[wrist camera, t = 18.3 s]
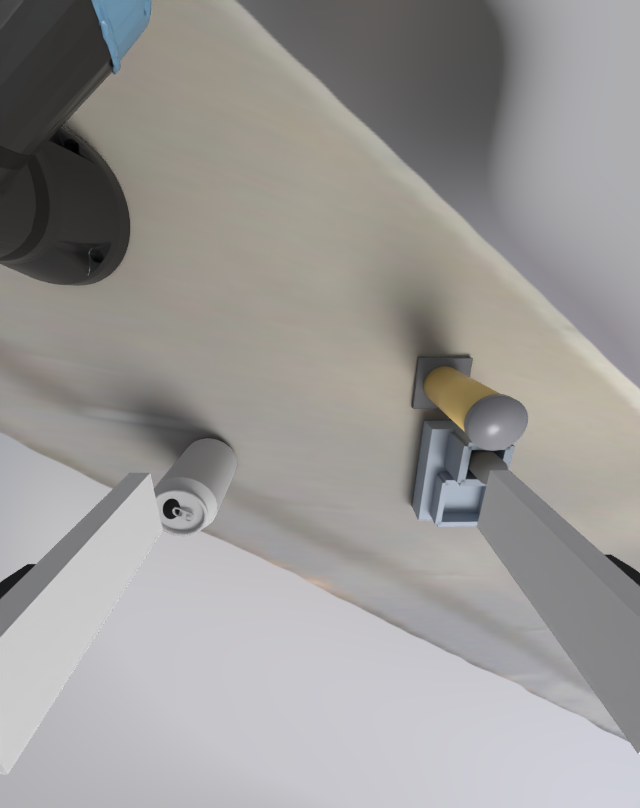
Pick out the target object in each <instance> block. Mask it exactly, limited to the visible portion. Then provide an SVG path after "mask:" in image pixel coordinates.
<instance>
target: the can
mask: <svg viewBox="0 0 640 808" xmlns="http://www.w3.org/2000/svg"><path fill="white" fill-rule="evenodd" d="M236 467H237V460H236V456H235V454H234V452H233V451H232V449H231V448H230V447H229V446H227V445H226V444H225V443H223V442H221V441H219V440H216V439H210V438H206V439H199V440H197V441H195V442H193V443H192V444H191V445H190V446H189V447H188V448H187V449H186V450H185V451H184V453H183V454H182V455H181V456H180V458H179V459H178V460H177V461H176V462H175V464H174V465H173V466H172V467H171V468H170V470H169V471H168V472H167V473H166V475H165V476H164V477H163V478H162V479H161V481H160V482H159V483H158V484H157V486H156V487H155V488H154V493H155V497H156V502H157V506H158V511H159V515H160V520H161V524H162V529H163V531H165V532H167V533H169V534H172V535H177V536H188V535H193V534H195V533H198V532H199V531H200V530H202V529H203V528H204V527H206V526H208V525H209V524H210V523H211V522H212V521H213V520H214V518H215V516H216V514H217V512H218V510H219V507H220V505H221V503H222V501H223V498H224V496H225V494H226V491H227V489H228V487H229V485H230V482H231V480H232V478H233V475H234V473H235V471H236Z"/></svg>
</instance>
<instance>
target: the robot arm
mask: <svg viewBox="0 0 640 808" xmlns="http://www.w3.org/2000/svg"><path fill="white" fill-rule="evenodd" d="M150 15H151V0H0V264H2V265H4V266H7V267H9V268H11V269H14V270H16V271H18V272H20V273H23V274H25V275H27V276H30V277H32V278H34V279H37V280H40V281H44V282H48V283H52V284H59V285H88V284H92V283H95V282H98V281H100V280H102V279H104V278H106V277H107V276H109V275H110V274H111V273H112V272H113V271H114V270H115V269H116V268H117V267H118V266H119V264H120V263H121V261H122V260H123V258H124V255H125V253H126V250H127V247H128V243H129V237H130V219H129V212H128V207H127V203H126V200H125V197H124V194H123V191H122V189H121V187H120V185H119V183H118V181H117V179H116V177H115V175H114V174H113V172H112V170H111V169H110V168H109V166H108V165H107V163H106V162H105V161H104V160H103V159H102V157H101V156H100V155H99V154H98V153H97V152H96V151H95V150H94V149H93V148H92V147H91V146H89V145H88V144H87V143H86V142H84V141H83V140H82V139H80V138H79V137H77V136H76V135H74V134H73V133H71V132H70V131H68V130H67V129H65V128H64V127H62V125H63V124H64V123H65V122H66V121H67V120H68V119H69V118H70V117H71V116H72V114H73V113H74V112H75V111H76V110H77V109H78V108H79V107H80V106H81V105H82V104H83V103H84V102H85V100H86V99H87V98H88V97H89V96H90V95H91V94H92V93H93V92H94V91H95V90H96V89H97V88H98V86H99V85H100V84H101V83H102V82H103V81H104V80H105V79H106V78H107V77H108V76H109V75H110V74H111V72H112V73H114V74H116V73H117V72H118V71H119V69H120V66H121V64H120V60H121V59H122V58H123V57H124V55H125V54H126V53H127V51H128V50H129V49H130V48H131V46H132V45H133V44H134V43H135V41H136V40H137V39H138V37H139V36H140V35H141V34H142V32H143V31H144V30H145V28H146V27H147V25H148V23H149V19H150ZM477 528H478V529H479V530H480V532H481V533H482V535H483V536H484V537H485V539H486V540H487V542H488V543H489V544H490V546H491V547H492V549H493V550H494V552H495V553H496V554H497V556H498V557H499V559H500V560H501V561H502V563H503V564H504V566H505V567H506V568H507V570H508V571H509V573H510V574H511V575H512V577H513V578H514V580H515V581H516V583H517V584H518V585H519V587H520V588H521V590H522V591H523V592H524V594H525V595H526V597H527V598H528V599H529V601H530V602H531V604H532V605H533V606H534V608H535V609H536V611H537V612H538V614H539V615H540V616H541V618H542V619H543V621H544V622H545V623H546V625H547V626H548V628H549V629H550V630H551V632H552V633H553V635H554V636H555V637H556V639H557V640H558V642H559V643H560V645H561V646H562V647H563V649H564V650H565V652H566V653H567V654H568V656H569V657H570V659H571V660H572V661H573V663H574V664H575V666H576V667H577V668H578V670H579V671H580V673H581V674H582V676H583V677H584V678H585V680H586V681H587V683H588V684H589V685H590V687H591V688H592V690H593V691H594V692H595V694H596V695H597V697H598V698H599V699H600V701H601V702H602V704H603V705H604V707H605V708H606V709H607V711H608V712H609V714H610V715H611V716H612V718H613V719H614V721H615V722H616V723H617V725H618V726H619V728H620V729H621V730H622V732H623V733H624V735H625V736H626V738H627V739H628V740H629V742H630V743H631V744H632V746H633V747H634V749H635V750H636V751H637V753H638V754H640V573H639V572H638V571H636V570H635V569H634V568H632V567H630V566H629V565H627V564H625V563H624V562H622V561H620V560H619V559H617V558H616V557H614V556H612V555H604V554H603V553H602V552H600V551H599V550H598V549H597V548H596V547H595V546H594V545H593V544H592V543H590V542H589V541H588V540H587V539H586V538H585V537H584V536H583V535H581V534H580V533H579V532H578V531H577V530H576V529H575V528H574V527H572V526H571V525H570V524H569V523H568V522H567V521H566V520H565V519H563V518H562V517H561V516H560V515H559V514H558V513H557V512H556V511H554V510H553V509H552V508H551V507H550V506H549V505H548V504H547V503H545V502H544V501H543V500H542V499H541V498H540V497H539V496H538V495H537V494H535V493H534V492H533V491H532V490H531V489H530V488H529V487H528V486H526V485H525V484H524V483H523V482H522V481H521V480H520V479H519V478H517V477H516V476H515V475H514V474H513V473H512V472H511V471H510V470H490V473H489V477H488V482H487V486H486V490H485V494H484V498H483V502H482V507H481V511H480V515H479V519H478V523H477ZM162 531H163V529H162V524H161V520H160V515H159V511H158V506H157V502H156V497H155V493H154V488H153V483H152V479H151V474H150V473H129V474H128V475H127V476H126V477H125V478H124V479H123V480H122V481H121V482H120V483H119V484H118V485H117V486H116V487H115V488H114V489H113V490H112V491H111V492H110V493H109V494H108V495H107V496H106V497H105V498H104V499H103V500H102V501H101V502H100V503H98V504H97V505H96V507H94V508H93V509H92V510H91V511H90V513H88V514H87V515H86V516H85V517H84V518H83V519H82V520H81V521H80V522H79V523H78V524H77V525H76V526H75V527H74V528H73V529H72V530H71V531H70V532H69V533H68V534H67V535H66V536H65V537H64V538H63V539H62V540H61V541H60V542H58V543H57V544H56V545H55V546H54V547H53V548H52V549H51V550H50V552H48V553H47V554H46V555H45V556H44V557H43V558H42V559H41V560H40V561H39V562H38V563H37V564H27V565H26V566H24V567H23V568H22V569H20V570H18V571H17V572H15V573H14V574H12V575H10V576H9V577H7V578H6V579H4V580H3V581H2V582H0V774H8V773H9V772H10V770H11V769H12V767H13V766H14V764H15V762H16V761H17V759H18V758H19V756H20V754H21V753H22V751H23V750H24V748H25V746H26V745H27V743H28V742H29V740H30V739H31V737H32V736H33V734H34V732H35V731H36V729H37V728H38V726H39V724H40V723H41V721H42V720H43V718H44V717H45V715H46V713H47V712H48V710H49V709H50V707H51V706H52V704H53V702H54V701H55V699H56V698H57V696H58V695H59V693H60V692H61V690H62V688H63V686H64V685H65V684H66V682H67V680H68V679H69V677H70V676H71V674H72V673H73V671H74V669H75V668H76V666H77V665H78V663H79V662H80V660H81V658H82V657H83V655H84V654H85V652H86V651H87V649H88V647H89V646H90V644H91V643H92V641H93V640H94V638H95V636H96V635H97V633H98V632H99V630H100V628H101V627H102V625H103V624H104V622H105V621H106V619H107V617H108V616H109V614H110V613H111V611H112V610H113V608H114V606H115V605H116V603H117V602H118V600H119V599H120V597H121V595H122V594H123V592H124V591H125V589H126V588H127V586H128V584H129V583H130V581H131V579H132V578H133V576H134V575H135V573H136V572H137V570H138V569H139V567H140V565H141V564H142V562H143V561H144V559H145V557H146V556H147V554H148V552H149V551H150V550H151V548H152V546H153V545H154V543H155V542H156V540H157V539H158V537H159V536H160V534H161V532H162Z"/></svg>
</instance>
